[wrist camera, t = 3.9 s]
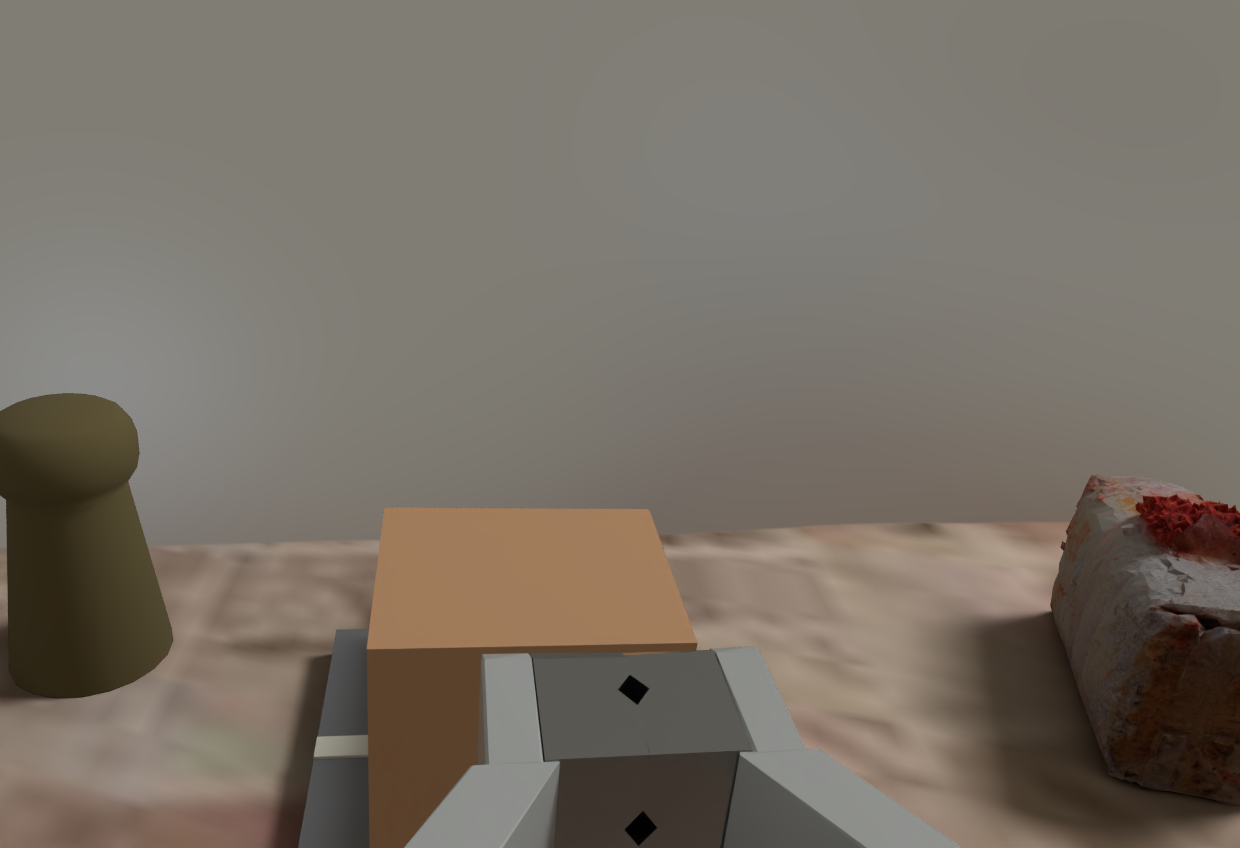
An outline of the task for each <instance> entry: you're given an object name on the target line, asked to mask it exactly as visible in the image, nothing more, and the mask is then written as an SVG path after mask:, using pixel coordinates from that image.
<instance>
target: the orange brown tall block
mask: <svg viewBox="0 0 1240 848" xmlns="http://www.w3.org/2000/svg"><path fill="white" fill-rule="evenodd" d="M696 648H697V641H696V638H695V635H694V632H693V630H692V627H691V624H690V621H689V619H688V616H687V613H686V610H685V608H684V605H683V602H682V599H681V596H680V594H679V591H678V588H677V585H676V583H675V580H674V577H673V574H672V572H671V569H670V566H669V563H668V561H667V558H666V555H665V552H664V550H663V547H662V544H661V541H660V539H659V536H658V533H657V530H656V528H655V525H654V522H653V519H652V517H651V514H650V511H649V509H522V508H520V509H519V508H518V509H517V508H513V509H512V508H385V509H384V517H383V525H382V532H381V540H380V548H379V556H378V564H377V572H376V579H375V587H374V595H373V603H372V611H371V619H370V627H369V634H368V642H367V708H368V775H369V841H370V848H404V847H405V846H406V844H407V843H408V842H409V841H410V839H411V838H412V837H413V836H414V835H415V833H416V832H417V831H418V830H419V828H420V827H421V826H422V825H423V824H424V822H425V821H426V820H427V819H428V817H429V816H430V815H431V814H432V813H433V811H434V810H435V809H436V808H437V806H438V805H439V804H440V803H441V802H442V800H443V799H444V798H445V797H446V795H447V794H448V793H449V792H450V791H451V789H452V788H453V787H454V786H455V784H456V783H457V782H458V781H459V780H460V778H461V777H462V776H463V775H464V773H465V772H466V771H467V770H468V769H469V767H470V766H473V765H478V728H479V699H480V671H481V659H482V654H515V653H528V654H529V655H530V654H531V653H601V652H622V653H637V652H667V651H696Z"/></svg>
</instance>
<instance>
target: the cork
mask: <svg viewBox="0 0 1240 848" xmlns="http://www.w3.org/2000/svg"><path fill="white" fill-rule="evenodd" d="M138 459H139V443H138V436H137V430H136V428H135V425H134V423H133V421H132V419H131V418H130V416H129V415H128V414H127V413H126V412H125V411H124V410H123V409H122V408H121V407H120V406H119V405H118V404H116V403H115V402H112V401H110V400H107V399H104V398H101V397H98V396H94V395H87V394H74V393H63V394H52V395H44V396H39V397H34V398H30V399H26V400H23V401H20V402H17V403H15V404H13V405H11V406H9V407H7V408H5V409H4V410H2V411H0V495H1V496H2V497H3V498H4V499H6V514H7V515H6V517H7V579H8V641H9V673H10V675H11V676H12V678H13V679H14V681H15V683H16V684H17V685H18V686H20V687H22V688H24V689H26V690H27V691H29V692H31V693H33V694H38V695H43V696H49V697H54V698H65V697H84V696H89V695H94V694H98V693H103V692H108V691H111V690H114V689H116V688H119V687H121V686H124V685H126V684H129V683H131V682H134V681H136V680H137V679H139V678H140V677H142V676H143V675H145V674H147V673H148V672H150V671H151V670H153V669H154V668H155V667H156V666H157V665H158V664H159V663H160V662H161V661H162V660H163V659H164V658H165V657H166V656H167V655H168V652H169V650H170V647H171V645H172V643H173V635H172V628H171V625H170V621H169V618H168V614H167V611H166V608H165V604H164V601H163V598H162V594H161V591H160V587H159V584H158V581H157V577H156V574H155V571H154V567H153V564H152V561H151V557H150V554H149V550H148V547H147V544H146V541H145V537H144V534H143V530H142V527H141V524H140V520H139V517H138V514H137V510H136V507H135V503H134V500H133V497H132V493H131V490H130V486H129V483H128V480H129V479H130V477H131V476H132V474H133V472H134V471H135V469H136V468H137V464H138Z"/></svg>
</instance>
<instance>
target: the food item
mask: <svg viewBox="0 0 1240 848" xmlns="http://www.w3.org/2000/svg"><path fill="white" fill-rule="evenodd" d="M1066 533H1067V535H1068V536H1067V540H1066V543H1064V542H1063V541H1062V544H1061V548H1062V550H1063V551H1064V552H1063V555H1062V557H1061V560H1060V563H1059V573H1058V575H1057V577H1056V580H1055V582H1054V586H1053V591H1052V599H1051V604H1050V606H1051V610H1052V613H1053V616H1054V620H1055V624H1056V626H1057V629H1058V632H1059V635H1060V638H1061V639H1062V641H1063V644H1064V647H1065V650H1066V653H1067V656H1068V660H1069V663H1070V666H1071V668H1072V672H1073V675H1074V678H1075V681H1076V683H1077V686H1078V689H1079V692H1080V696H1081V699H1082V702H1083V704H1084V707H1085V710H1086V712H1087V715H1088V717H1089V719H1090V722H1091V725H1092V728H1093V731H1094V734H1095V736H1096V739H1097V742H1098V745H1099V748H1100V750H1101V753H1102V755H1103V758H1104V761H1105V763H1106V765H1107V767H1108V770H1109V775H1111V776H1113V777H1116V778H1119V779H1123V780H1127V781H1128V782H1130V783H1131V784H1133V782H1137V783H1138V784H1139V785H1141V786H1144V787H1146V788H1150V789H1155V790H1163V791H1173V792H1178V793H1183V794H1188V795H1193V796H1199V797H1204V798H1209V799H1212V800H1214V801H1216V802H1218V803H1223V804H1229V805H1240V513H1239V512H1238V511H1237V510H1236V506H1233V507H1232V508H1228V505H1227V504H1221V503H1220V502H1219V503H1216V502H1212V501H1207V500H1205V499H1204V498H1203V497H1201V496H1200V495H1198V494H1196V493H1194V492H1191V491H1189V490H1187V489H1184V488H1182V487H1179V486H1176V485H1174V484H1170V483H1168V482H1165V481H1160V480H1156V479H1152V478H1148V477H1129V476H1118V477H1113V476H1103V475H1091V478H1090V479H1089V481H1088V483H1087V485H1086V487H1085V489H1084V492H1083V495H1082V497H1081V499H1080V500H1079V502H1078V504H1077V510H1076V513H1075V515H1074V516H1073V518H1072V520H1071V522H1070V524H1069V526H1068V528H1067V530H1066Z"/></svg>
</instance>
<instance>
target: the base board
mask: <svg viewBox="0 0 1240 848" xmlns="http://www.w3.org/2000/svg"><path fill="white" fill-rule="evenodd" d="M368 634H369V629H350V630H336V636H335V641H334V647H333V653H332V658H331V664H330V670H329V675H328V681H327V687H326V692H325V698H324V704H323V709H322V715H321V721H320V726H319V732H318V737H317V740H316V746H315V751H314V760H313V766H312V772H311V777H310V783H309V789H308V794H307V800H306V806H305V811H304V817H303V823H302V828H301V834H300V840H299V845H298V848H370V841H369V775H368V708H367V642H368Z"/></svg>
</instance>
